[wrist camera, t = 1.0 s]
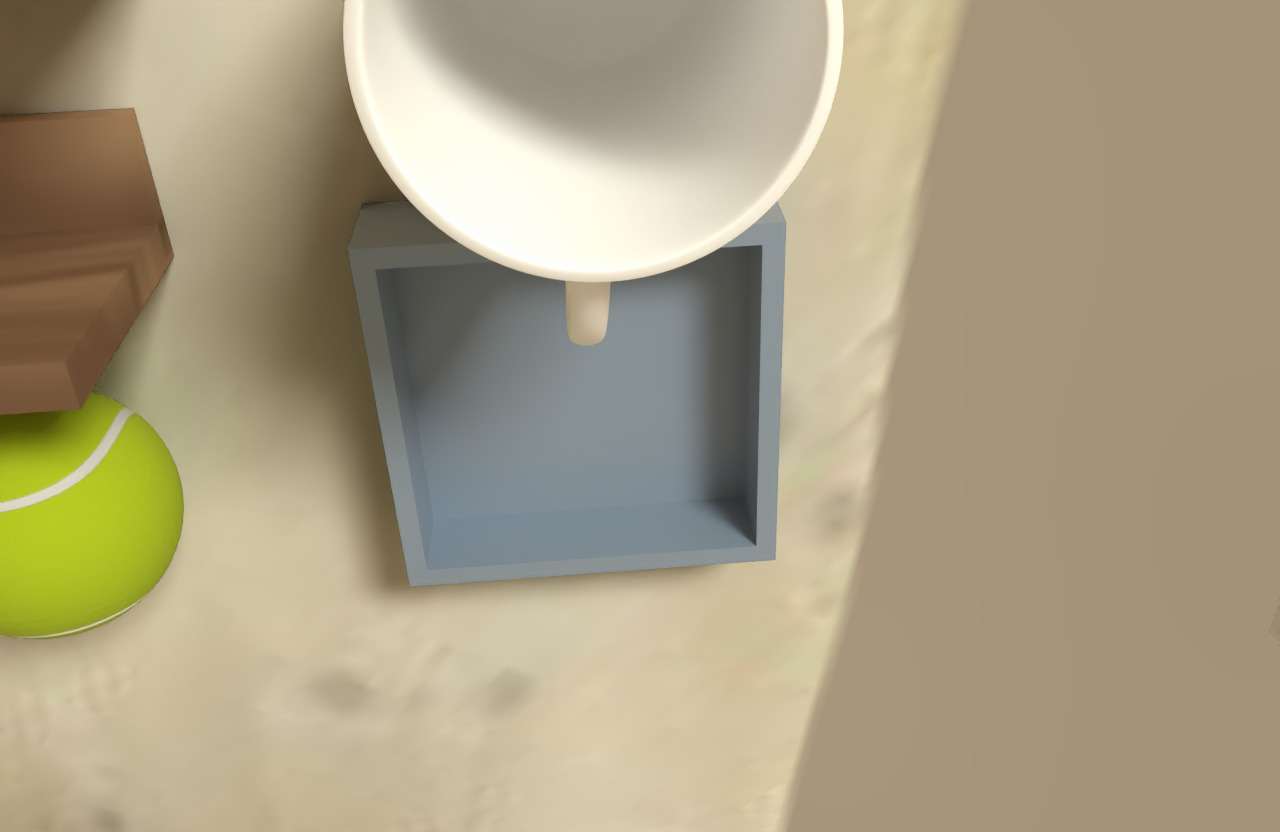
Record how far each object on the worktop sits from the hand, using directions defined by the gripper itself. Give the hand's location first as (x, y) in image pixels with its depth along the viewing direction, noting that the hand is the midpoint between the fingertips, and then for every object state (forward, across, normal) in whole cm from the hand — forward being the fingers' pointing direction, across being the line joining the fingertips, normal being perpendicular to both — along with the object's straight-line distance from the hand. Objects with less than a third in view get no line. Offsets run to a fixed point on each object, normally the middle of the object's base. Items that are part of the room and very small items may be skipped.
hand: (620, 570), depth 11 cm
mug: (+23, 0, 0) cm, 23 cm away
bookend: (+23, -15, -4) cm, 28 cm away
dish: (+23, 0, -11) cm, 25 cm away
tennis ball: (+23, -16, -12) cm, 30 cm away
